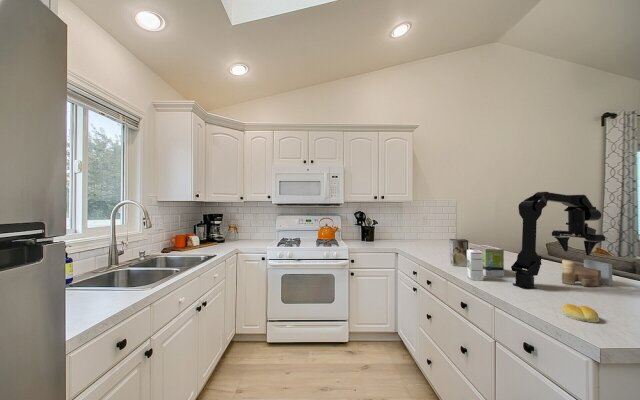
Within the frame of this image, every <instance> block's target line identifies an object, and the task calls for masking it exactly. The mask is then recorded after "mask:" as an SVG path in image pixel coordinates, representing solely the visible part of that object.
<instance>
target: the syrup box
mask: <svg viewBox="0 0 640 400" xmlns="http://www.w3.org/2000/svg"><path fill="white" fill-rule="evenodd" d="M466 277H467V278H468V279H469V280H471V281H478V282H479V281H480V282H481V281H482V282H483V281H484V275H483V254H482V252H481V251H479V250H470V249H469V250H467V266H466Z"/></svg>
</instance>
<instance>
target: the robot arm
mask: <svg viewBox="0 0 640 400" xmlns="http://www.w3.org/2000/svg"><path fill="white" fill-rule="evenodd" d="M548 202H551V203H560V204H562V205H563V206H565V207H566V208H565V209H564V210H563V211H564V212H567V222H565V225H567V229H568V230H563V229H562V230H560V229H559V230H553V231H552V232H551V236H552V237H554V238H555V239H556V240H557V241H558V242H559V244H560V246H561V247H562V250H563V251H564V252H568V251H569V240H570V238H571V237H572V238H580V239H581V238H582V239H584V240H583V244H584V249H585V254H586V256H590V255H591V253H592V252H593V250H594V248H595V246H596V245H597V244H599V243H602V242H605V241H606V236H605V235H604V234H600V233H596V232H597V229H595V228H592V227H590V226H589V224H588V221H599V220H600V219H601V217H602V213H601V211H600V210H599V209H597V207H596V206H594V205H593V204H592V202H591V201H590V199H589V198H588V197H587V195H585V194H563V193H562V194H561V193H555V192H548V191H538V192H535V193H534V194H533V195H531V196H529V197H526V198H525V199H524V200H523V201H521V202H520V203H519V204H518V207H517V208H518V214H519V216H520V218H521V219H522V238H521V250H520V251H519V253H518V254H517V256H516V260H515V262H514V263H513V264H512V265H511V267H510V269H511V271H512V272H515V283H514V282H513V283H512V285H513V286H516V287H519V288H521V289H524V290H529V289H530V290H531V289H537V288H538V287H537V286H535V277H536V276H537V277H538V275H539V271H540V269H541V266H542V265H543V264H542V256H541V255H539V254H538V253H537V251H536V250H537V249H536V248H537V246H536V245H537V220H538V219H539V218H540V217H541V216H542V211H543V209H544V208H545V207H547V206H548ZM534 276H535V277H534Z"/></svg>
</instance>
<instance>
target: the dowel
mask: <svg viewBox="0 0 640 400" xmlns="http://www.w3.org/2000/svg"><path fill="white" fill-rule="evenodd" d="M575 265H576V262H575V261H574V260H570V259H562V260H561V269H562V271H561V281H562V284H564V285H566V286H567V285H568V286H575V285H576V280H575Z"/></svg>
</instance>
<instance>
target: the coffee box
mask: <svg viewBox="0 0 640 400" xmlns="http://www.w3.org/2000/svg"><path fill="white" fill-rule="evenodd" d="M467 250H470V248H469V240H468V239H465V238H449V264H450V265H451V266H452V267H467Z"/></svg>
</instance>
